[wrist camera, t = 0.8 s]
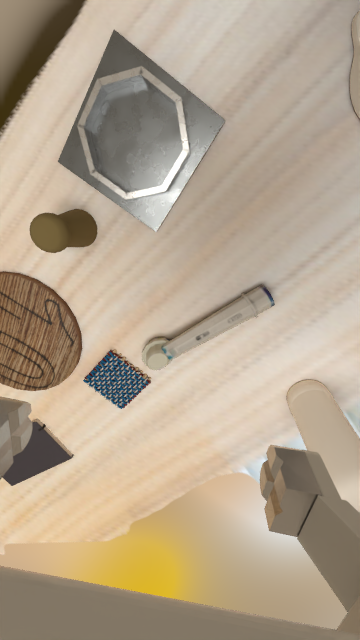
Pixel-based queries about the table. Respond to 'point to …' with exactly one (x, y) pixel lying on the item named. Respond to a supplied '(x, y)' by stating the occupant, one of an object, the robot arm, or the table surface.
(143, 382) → the woven mat
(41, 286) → the trivet
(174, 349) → the toothbrush head
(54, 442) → the notebook
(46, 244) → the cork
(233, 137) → the table surface
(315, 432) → the bottle
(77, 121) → the duct collar
